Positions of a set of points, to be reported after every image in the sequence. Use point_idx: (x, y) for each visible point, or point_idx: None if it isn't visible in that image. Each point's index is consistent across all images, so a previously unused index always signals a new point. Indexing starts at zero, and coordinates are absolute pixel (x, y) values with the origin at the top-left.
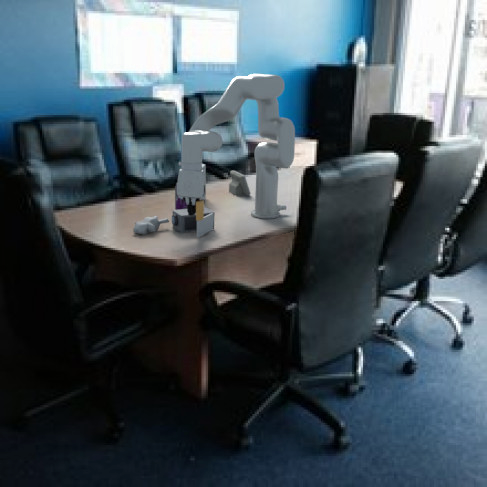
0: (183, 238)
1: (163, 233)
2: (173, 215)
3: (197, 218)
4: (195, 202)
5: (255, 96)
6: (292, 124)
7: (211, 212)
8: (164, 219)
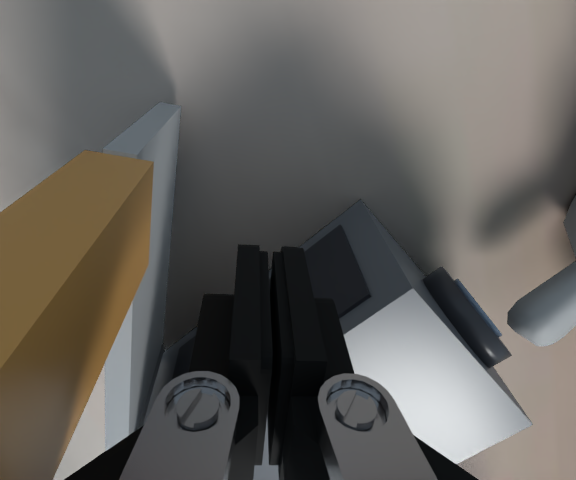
0: (301, 57)
1: (509, 148)
2: (501, 342)
3: (116, 165)
4: (143, 453)
5: None
6: None
7: None
8: (557, 319)
